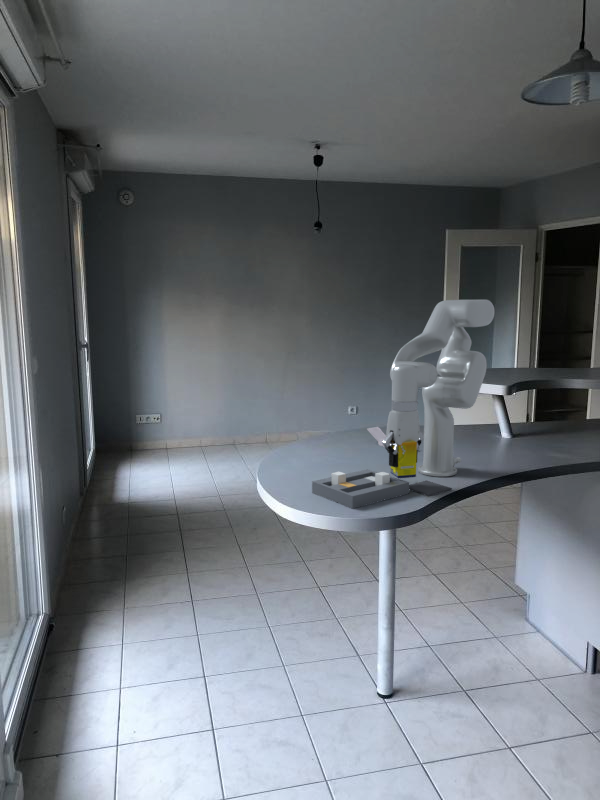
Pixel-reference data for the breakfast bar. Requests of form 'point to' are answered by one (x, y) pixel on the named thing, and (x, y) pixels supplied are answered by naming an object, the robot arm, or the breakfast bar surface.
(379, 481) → the switch
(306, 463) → the breakfast bar surface
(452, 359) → the robot arm
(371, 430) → the mobile phone
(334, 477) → the switch
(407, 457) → the supplement box
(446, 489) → the mat
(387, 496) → the grey compartment tray
